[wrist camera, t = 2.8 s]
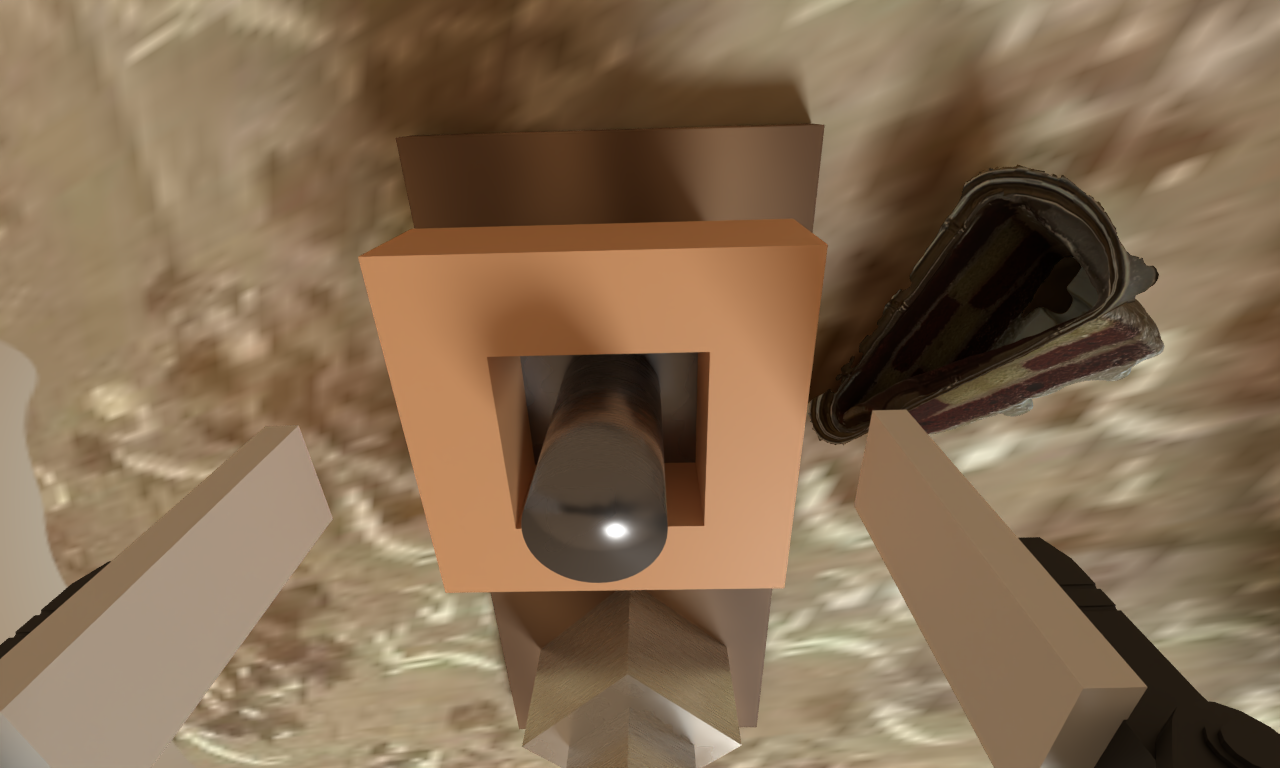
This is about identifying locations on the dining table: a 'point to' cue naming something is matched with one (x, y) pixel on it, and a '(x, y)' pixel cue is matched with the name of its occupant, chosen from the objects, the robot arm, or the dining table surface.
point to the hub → (632, 691)
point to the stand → (605, 457)
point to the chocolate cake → (998, 312)
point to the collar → (602, 324)
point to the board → (604, 194)
